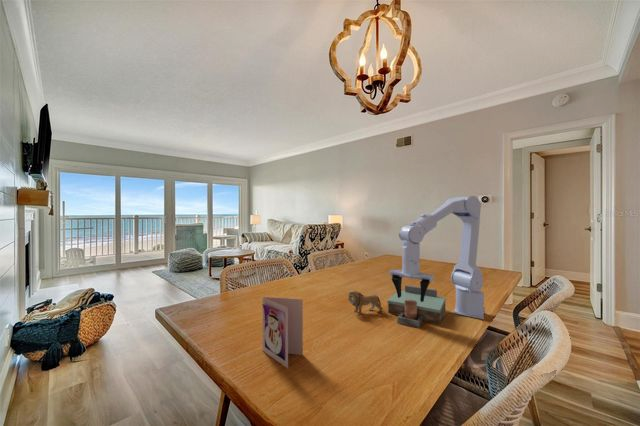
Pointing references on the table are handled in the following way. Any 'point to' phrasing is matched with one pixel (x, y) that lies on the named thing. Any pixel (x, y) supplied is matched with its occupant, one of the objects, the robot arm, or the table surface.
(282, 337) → the greeting card
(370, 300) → the lion figurine
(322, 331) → the table surface
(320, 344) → the table surface
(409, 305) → the key peg
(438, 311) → the lid
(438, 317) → the dark grey box base
